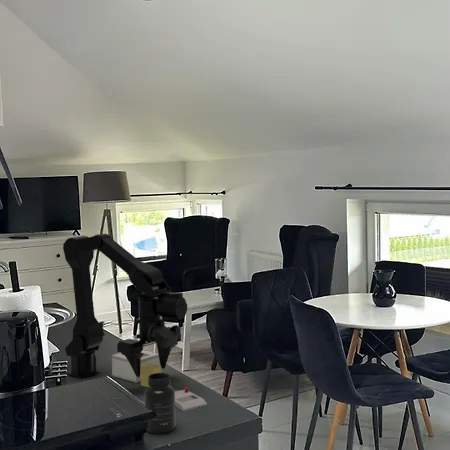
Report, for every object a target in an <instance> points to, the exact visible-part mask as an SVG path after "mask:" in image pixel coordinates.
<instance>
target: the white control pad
mask: <svg viewBox="0 0 450 450" xmlns="http://www.w3.org/2000/svg"><path fill="white" fill-rule="evenodd" d="M173 389H174V391H175V406H176V407H175V408H176V409H179V410H181V411H183V412H188V411H192V410H195V408H196V409H199V408H198V407H200V408H202V406H204V407H207V406H208V403H207V401H205V398H203V397H200V396H199V395H197V394H195V393H193V392H192V391H189V388H188V386H186V387H184V389H179V390H178V389H176V388H173ZM206 405H207V406H206Z"/></svg>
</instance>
